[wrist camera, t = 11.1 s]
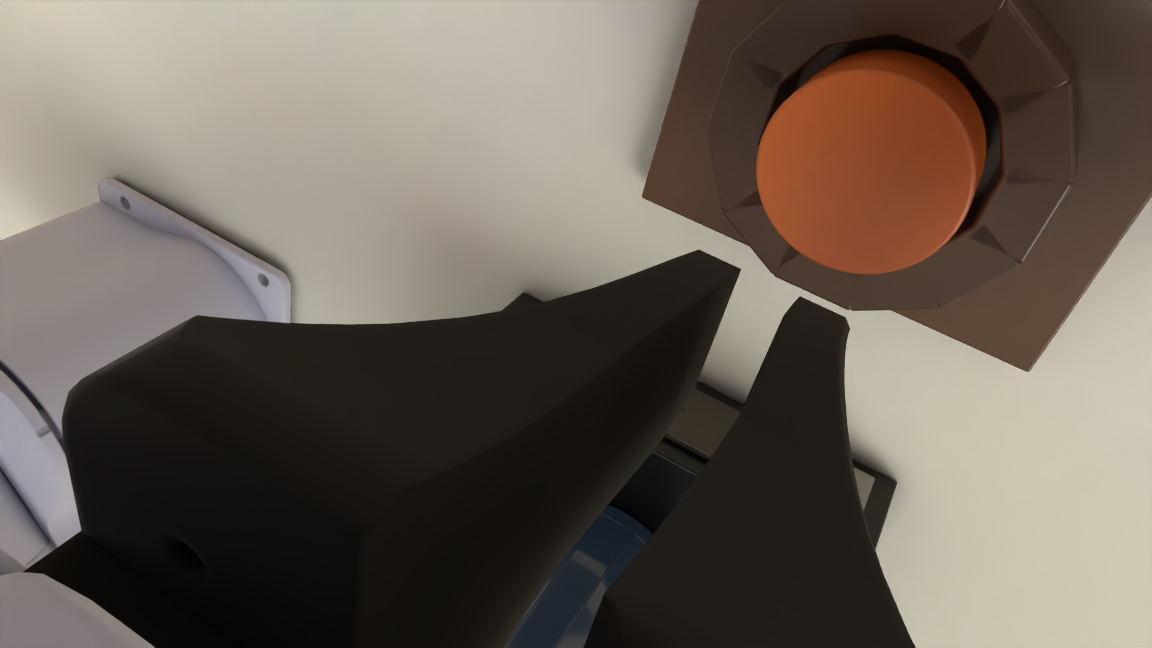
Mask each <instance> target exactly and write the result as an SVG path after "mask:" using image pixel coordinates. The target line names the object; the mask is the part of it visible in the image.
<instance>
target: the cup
mask: <svg viewBox="0 0 1152 648" xmlns="http://www.w3.org/2000/svg"><path fill="white" fill-rule="evenodd" d="M652 536H653V533H652V532H651V531H649V530H648V529H647V528H646V527H645V526H644V525H643V524H641V523H640V522H639V521H637V520H636V519H635V518H633V517H632V516H630V515H629V514H627V513H625V512H624V511H622V510H620V509H618V508H616V507H614V506H611V505H609V504H608V505H607V507H606V508H605V509H604V510H603V511H602V513H601V514H600V515H599V516H598V517H597V518H596V520H595V521H594V522H593V523H592V524H591V526H590V527H589V528H588V529H587V530H586V532H585V533H584V534H583V535H582V536H581V538H580V539H579V540H578V541H577V542H576V544H575V545H574V546H573V547H572V548H571V550H570V551H569V552H568V554H567V555H566V556H565V557H564V559H563V560H562V561H561V563H560V564H559V565H558V567H557V568H556V569H555V571H554V572H553V573H552V575H551V576H550V578H549V579H548V581H547V582H546V584H545V585H544V587H543V588H542V590H541V591H540V593H539V594H538V596H537V597H536V599H535V600H534V602H533V603H532V605H531V606H530V608H529V609H528V611H527V612H526V614H525V615H524V617H523V618H522V620H521V621H520V623H519V624H518V626H517V627H516V629H515V630H514V632H513V633H512V635H511V636H510V638H509V639H508V641H507V642H506V644H505V646H504V647H503V648H583V647H584V645H585V642H586V639H587V637H588V634H589V631H590V629H591V626H592V624H593V621H594V618H595V616H596V613H597V610H598V608H599V605H600V603H601V600H602V597H603V595H604V592H605V591H606V590H607V589H608V588H609V587H610V586H611V585H612V583H613V582H614V581H615V580H616V579H617V578H618V577H619V575H620V574H621V573H622V572H623V571H624V569H625V568H626V567H627V566H628V565H629V563H630V562H631V561H632V560H633V558H634V557H635V556H636V555H637V554H638V552H639V551H640V550H641V549H642V548H643V546H644V545H645V544H646V543H647V542H648V540H649V539H650V538H651V537H652Z"/></svg>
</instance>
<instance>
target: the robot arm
mask: <svg viewBox="0 0 1152 648" xmlns="http://www.w3.org/2000/svg"><path fill="white" fill-rule="evenodd" d="M99 194H100V201H99V202H97V203H94V204H92V205H89V206H86V207H84V208H81V209H79V210H76V211H74V212H71V213H69V214H66V215H64V216H61V217H59V218H56V219H53V220H51V221H48V222H46V223H43V224H41V225H38V226H36V227H33V228H31V229H28V230H26V231H23V232H21V233H18V234H15V235H13V236H10V237H8V238H5V239H3V240H0V648H503V647H504V646H505V644H506V642H507V641H508V639H509V638H510V636H511V635H512V633H513V632H514V630H515V629H516V627H517V626H518V624H519V623H520V621H521V620H522V618H523V617H524V615H525V614H526V612H527V611H528V609H529V608H530V606H531V605H532V603H533V602H534V600H535V599H536V597H537V596H538V594H539V593H540V591H541V590H542V588H543V587H544V585H545V584H546V582H547V581H548V579H549V578H550V576H551V575H552V573H553V572H554V571H555V569H556V568H557V567H558V565H559V564H560V563H561V561H562V560H563V559H564V557H565V556H566V555H567V554H568V552H569V551H570V550H571V548H572V547H573V546H574V545H575V544H576V542H577V541H578V540H579V539H580V538H581V536H582V535H583V534H584V533H585V532H586V530H587V529H588V528H589V527H590V526H591V524H592V523H593V522H594V521H595V520H596V518H597V517H598V516H599V515H600V514H601V513H602V511H603V510H604V509H605V508H606V507H607V505H608V504H609V503H610V502H611V501H612V499H613V498H614V497H615V496H616V495H617V493H618V492H619V491H620V490H621V489H622V487H623V486H624V485H625V484H626V483H627V481H628V480H629V479H630V478H631V477H632V475H633V474H634V473H635V472H636V471H637V469H638V468H639V467H640V466H641V465H642V463H643V462H644V461H645V460H646V459H647V457H648V456H649V455H650V454H651V452H652V451H653V450H654V449H655V448H656V446H657V445H658V444H659V443H660V441H661V440H662V438H663V437H664V435H665V434H666V432H667V431H668V429H669V428H670V426H671V424H672V423H673V421H674V420H675V418H676V417H677V415H678V413H679V412H680V410H681V409H682V407H683V405H684V404H685V402H686V401H687V399H688V397H689V396H690V394H691V392H692V391H693V389H694V388H695V386H696V383H697V380H698V378H699V375H700V373H701V370H702V368H703V365H704V363H705V360H706V358H707V355H708V352H709V350H710V347H711V345H712V342H713V340H714V337H715V335H716V332H717V330H718V327H719V324H720V322H721V319H722V317H723V314H724V312H725V309H726V307H727V304H728V301H729V299H730V296H731V294H732V291H733V289H734V286H735V284H736V281H737V279H738V276H739V273H740V271H741V269H740V268H737V267H735V266H733V265H731V264H729V263H727V262H724V261H722V260H720V259H718V258H716V257H714V256H711V255H709V254H707V253H705V252H703V251H701V250H696V251H694V252H691V253H688V254H685V255H682V256H679V257H677V258H674V259H671V260H669V261H666V262H664V263H661V264H658V265H656V266H653V267H651V268H648V269H645V270H643V271H640V272H637V273H635V274H632V275H629V276H626V277H624V278H621V279H618V280H615V281H612V282H609V283H606V284H603V285H600V286H598V287H595V288H592V289H588V290H585V291H581V292H578V293H574V294H571V295H567V296H564V297H560V298H557V299H553V300H550V301H546V302H542V303H538V304H534V305H530V306H525V307H520V308H516V309H511V310H505V311H499V312H493V313H487V314H482V315H476V316H469V317H461V318H451V319H439V320H428V321H416V322H405V323H392V324H354V325H346V324H299V323H291V283H290V280H289V278H288V277H287V275H286V274H285V273H283V272H282V271H281V270H279V269H277V268H275V267H273V266H271V265H270V264H268V263H266V262H264V261H262V260H261V259H259V258H257V257H255V256H253V255H251V254H250V253H248V252H246V251H244V250H242V249H241V248H239V247H237V246H235V245H233V244H231V243H230V242H228V241H226V240H224V239H222V238H220V237H219V236H217V235H215V234H213V233H211V232H210V231H208V230H206V229H204V228H202V227H200V226H199V225H197V224H195V223H193V222H191V221H190V220H188V219H186V218H184V217H182V216H180V215H179V214H177V213H175V212H173V211H171V210H170V209H168V208H166V207H164V206H162V205H160V204H159V203H157V202H155V201H153V200H151V199H150V198H148V197H146V196H144V195H142V194H140V193H139V192H137V191H135V190H133V189H131V188H130V187H128V186H126V185H124V184H122V183H120V182H119V181H117V180H115V179H113V178H107V179H104V180H102V181H100V183H99ZM849 330H850V328H849V325H848V322H847V320H846V317H843V316H841V315H839V314H837V313H835V312H833V311H830V310H828V309H826V308H824V307H822V306H820V305H817V304H815V303H813V302H811V301H809V300H807V299H804V298H802V297H799V298H798V299H797V300H796V301H795V302H794V303H793V305H792V306H791V307H790V308H789V310H788V311H787V312H786V313H785V315H784V316H783V318H782V320H781V323H780V325H779V327H778V329H777V332H776V334H775V336H774V338H773V341H772V343H771V345H770V347H769V350H768V352H767V354H766V356H765V359H764V361H763V363H762V365H761V368H760V370H759V372H758V374H757V377H756V379H755V381H754V383H753V385H752V388H751V390H750V392H749V394H748V397H747V399H746V401H745V403H744V406H743V408H742V410H741V412H740V415H739V417H738V418H737V420H736V421H735V423H734V424H733V426H732V427H731V429H730V430H729V431H728V433H727V434H726V436H725V437H724V439H723V440H722V442H721V443H720V445H719V446H718V448H717V449H716V450H715V452H714V453H713V455H712V456H711V458H710V459H709V460H708V462H707V463H706V465H705V466H704V467H703V469H702V470H701V472H700V473H699V474H698V476H697V477H696V479H695V480H694V481H693V483H692V484H691V486H690V487H689V488H688V490H687V491H686V492H685V494H684V495H683V496H682V498H681V499H680V500H679V502H678V503H677V504H676V506H675V507H674V508H673V509H672V511H671V512H670V513H669V515H668V516H667V517H666V519H665V520H664V521H663V523H662V524H661V525H660V527H659V528H658V529H657V530H656V532H655V533H654V534H653V536H652V537H651V538H650V539H649V540H648V542H647V543H646V544H645V545H644V546H643V548H642V549H641V550H640V551H639V552H638V554H637V555H636V556H635V557H634V558H633V560H632V561H631V562H630V563H629V565H628V566H627V567H626V568H625V569H624V571H623V572H622V573H621V574H620V575H619V577H618V578H617V579H616V580H615V581H614V582H613V583H612V585H611V586H610V587H609V588H608V589H607V590H606V591H605V592H604V595H603V597H602V600H601V603H600V605H599V608H598V610H597V613H596V616H595V618H594V621H593V624H592V626H591V629H590V631H589V634H588V637H587V639H586V642H585V645H584V647H583V648H916V647H915V645H914V644H913V642H912V640H911V638H910V636H909V633H908V631H907V629H906V626H905V624H904V622H903V619H902V617H901V615H900V612H899V610H898V608H897V605H896V603H895V601H894V598H893V596H892V594H891V591H890V589H889V587H888V584H887V582H886V579H885V577H884V574H883V572H882V569H881V566H880V563H879V560H878V557H877V554H876V551H875V548H874V545H873V542H872V539H871V536H870V533H869V529H868V526H867V522H866V519H865V515H864V512H863V508H862V504H861V500H860V496H859V492H858V487H857V482H856V478H855V473H854V467H853V461H852V455H851V450H850V443H849V436H848V428H847V416H846V403H845V387H844V368H845V350H846V342H847V337H848V333H849Z"/></svg>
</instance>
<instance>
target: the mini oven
mask: <svg viewBox="0 0 1152 648" xmlns="http://www.w3.org/2000/svg"><path fill="white" fill-rule="evenodd" d="M538 303H542V301H540V300H538V299H536V298H534V297H532V296H530V295H528V294H526V293H522V294H521V295H520V296H519V297H517V298H516V299H515V300H514V301H513V302H511V303H510V304H509V305H508V306H507V307H505V308H504V309H503V310H502V311H505V310H511V309H516V308H520V307H525V306H530V305H534V304H538ZM743 406H744V404H743V403H741V402H739V401H737V400H735V399H733V398H731V397H729V396H727V395H725V394H723V393H721V392H719V391H717V390H715V389H713V388H711V387H709V386H707V385H705V384H703V383H701V382H699V381H697V383H696V386H695V388H694V389H693V391H692V392H691V394H690V396H689V397H688V399H687V401H686V402H685V404H684V405H683V407H682V409H681V410H680V412H679V413H678V415H677V417H676V418H675V420H674V421H673V423H672V424H671V426H670V428H669V429H668V431H667V432H666V434H665V435H664V437H663V438H662V440H661V441H660V443H659V444H658V445H657V446H656V448H655V449H654V450H653V451H652V452H651V454H650V455H649V456H648V457H647V459H646V460H645V461H644V462H643V463H642V465H641V466H640V467H639V468H638V469H637V471H636V472H635V473H634V474H633V475H632V477H631V478H630V479H629V480H628V481H627V483H626V484H625V485H624V486H623V487H622V489H621V490H620V491H619V492H618V493H617V495H616V496H615V497H614V498H613V499H612V501H611V502H610V503H609V505H611V506H614V507H616V508H618V509H620V510H622V511H624V512H625V513H627V514H629V515H630V516H632V517H633V518H635V519H636V520H637V521H639V522H640V523H641V524H643V525H644V526H645V527H646V528H647V529H648V530H649V531H651V532H652V533H653V534H654V533H655V532H656V530H657V529H658V528H659V527H660V525H661V524H662V523H663V521H664V520H665V519H666V517H667V516H668V515H669V513H670V512H671V511H672V509H673V508H674V507H675V506H676V504H677V503H678V502H679V500H680V499H681V498H682V496H683V495H684V494H685V492H686V491H687V490H688V488H689V487H690V486H691V484H692V483H693V481H694V480H695V479H696V477H697V476H698V474H699V473H700V472H701V470H702V469H703V467H704V466H705V465H706V463H707V462H708V460H709V459H710V458H711V456H712V455H713V453H714V452H715V450H716V449H717V448H718V446H719V445H720V443H721V442H722V440H723V439H724V437H725V436H726V434H727V433H728V431H729V430H730V429H731V427H732V426H733V424H734V423H735V421H736V420H737V418H738V417H739V415H740V412H741V410H742V408H743ZM852 461H853V467H854V473H855V478H856V482H857V487H858V492H859V496H860V500H861V504H862V508H863V512H864V515H865V519H866V522H867V526H868V529H869V533H870V536H871V539H872V542H873V545H874V548H875V549H876V546H877V543H878V540H879V537H880V534H881V531H882V528H883V525H884V522H885V519H886V516H887V512H888V509H889V506H890V503H891V500H892V497H893V494H894V491H895V488H896V485H897V482H896V481H894V480H892V479H890V478H888V477H886V476H885V475H883V474H881V473H879V472H877V471H875V470H873V469H871V468H869V467H867V466H865V465H863V464H861V463H859V462H857V461H855V460H853V459H852Z"/></svg>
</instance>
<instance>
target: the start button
mask: <svg viewBox="0 0 1152 648" xmlns="http://www.w3.org/2000/svg"><path fill="white" fill-rule="evenodd" d="M985 158H986V133H985V126H984V123H983V119H982V116H981V113H980V111H979V108H978V106H977V104H976V102H975V100H974V99H973V97H972V96H971V94H970V93H969V91H968V90H967V88H966V87H965V86H964V85H963V84H962V83H961V82H960V80H959V79H958V78H957V77H955V76H954V75H953V74H952V73H951V72H949V71H948V70H947V69H946V68H944V67H942V66H941V65H939V64H937V63H936V62H934V61H932V60H930V59H927V58H925V57H923V56H920V55H917V54H913V53H910V52H906V51H899V50H889V49H877V50H868V51H862V52H858V53H854V54H850V55H848V56H845V57H842V58H840V59H838V60H836V61H834V62H832V63H830V64H828V65H826V66H825V67H824V68H822V69H821V70H819V71H818V72H816V73H815V74H814V75H813V76H812V77H811V78H810V79H809V80H807V81H806V82H805V83H804V84H803V85H802V86H801V87H800V88H799V89H797V90H796V91H795V92H794V93H793V94H792V95H791V96H790V97H789V98H788V99H787V100H785V101H784V102H783V103H782V105H781V106H780V107H779V108H778V109H777V111H776V112H775V113H774V115H773V116H772V118H771V119H770V121H769V123H768V124H767V126H766V129H765V131H764V133H763V135H762V138H761V141H760V145H759V148H758V154H757V161H756V178H757V187H758V191H759V195H760V199H761V202H762V204H763V207H764V210H765V212H766V214H767V216H768V217H769V219H770V221H771V223H772V224H773V226H774V227H775V229H776V230H777V231H778V233H779V234H780V235H781V236H782V237H783V238H784V239H785V241H786V242H787V243H788V244H790V245H791V246H792V247H793V248H794V249H795V250H797V251H798V252H799V253H801V254H802V255H804V256H805V257H807V258H808V259H810V260H812V261H814V262H816V263H818V264H820V265H823V266H825V267H828V268H831V269H834V270H838V271H842V272H847V273H854V274H880V273H888V272H892V271H897V270H901V269H904V268H906V267H909V266H912V265H914V264H916V263H918V262H920V261H922V260H924V259H926V258H928V257H929V256H931V255H932V254H934V253H935V252H937V251H938V250H939V249H940V248H941V247H942V246H943V245H945V244H946V243H947V242H948V241H949V240H950V238H951V237H952V236H953V235H954V234H955V233H956V231H957V230H958V228H959V227H960V225H961V224H962V222H963V221H964V219H965V217H966V215H967V212H968V210H969V208H970V206H971V203H972V200H973V197H974V195H975V192H976V189H977V187H978V184H979V181H980V178H981V175H982V172H983V169H984V165H985Z"/></svg>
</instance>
